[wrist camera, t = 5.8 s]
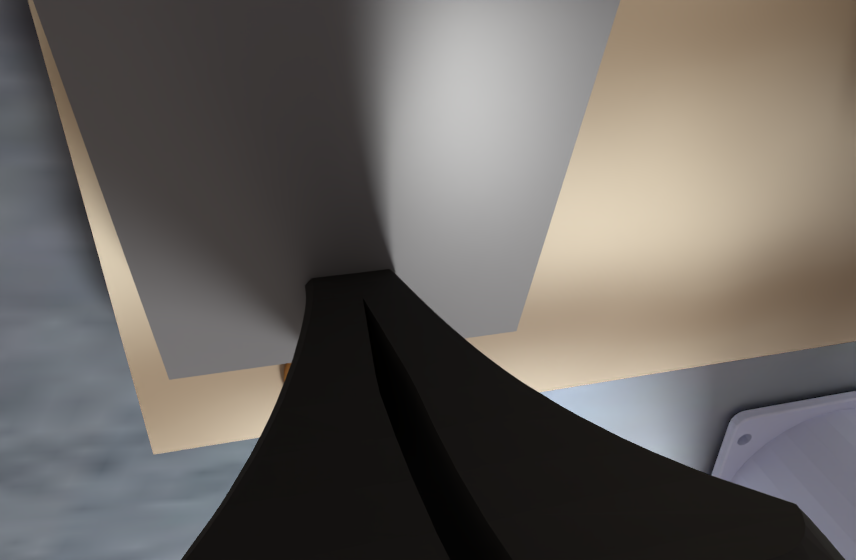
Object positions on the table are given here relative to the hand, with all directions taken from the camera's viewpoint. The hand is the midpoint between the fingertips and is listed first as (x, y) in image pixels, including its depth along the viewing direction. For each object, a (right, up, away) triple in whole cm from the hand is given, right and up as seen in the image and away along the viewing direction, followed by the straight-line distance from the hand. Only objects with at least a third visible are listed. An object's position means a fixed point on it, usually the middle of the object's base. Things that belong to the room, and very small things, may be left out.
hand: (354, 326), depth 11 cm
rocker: (0, +3, -2) cm, 4 cm away
